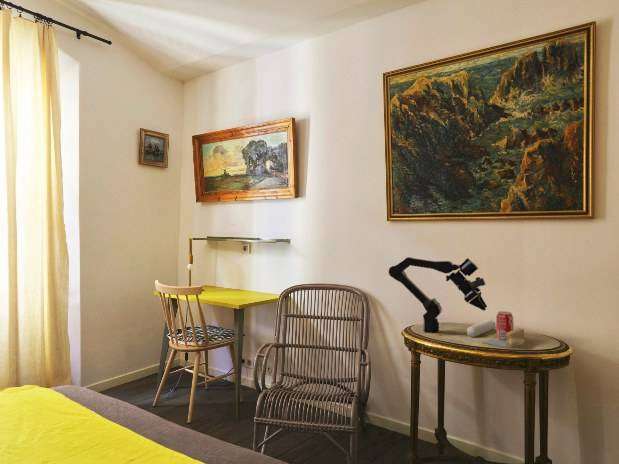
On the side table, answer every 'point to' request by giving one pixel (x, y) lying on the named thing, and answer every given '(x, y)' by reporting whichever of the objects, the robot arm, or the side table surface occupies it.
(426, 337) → the side table surface
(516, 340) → the backstop
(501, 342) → the mat
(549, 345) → the side table surface
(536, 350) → the side table surface
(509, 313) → the soda can
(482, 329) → the tube
